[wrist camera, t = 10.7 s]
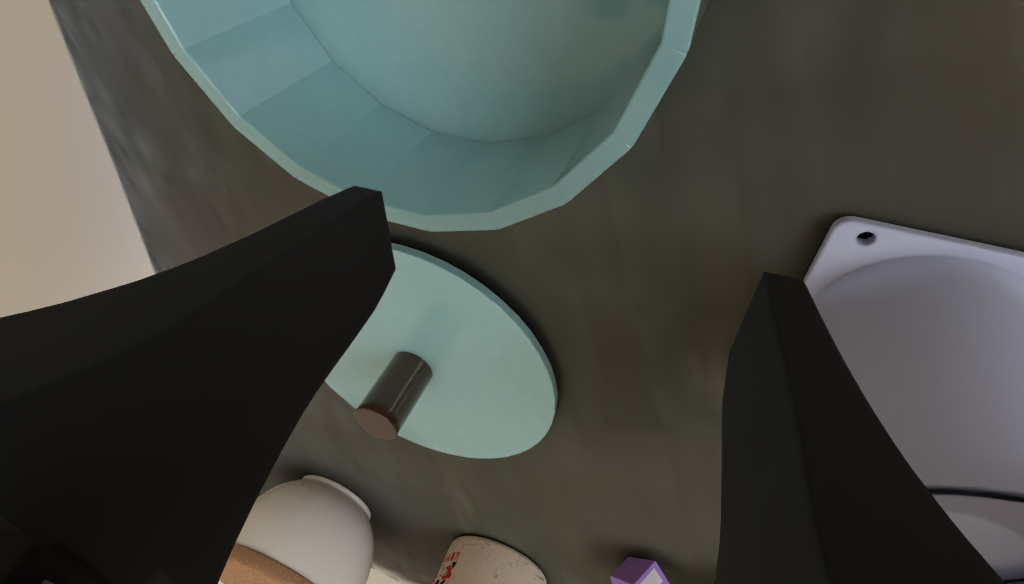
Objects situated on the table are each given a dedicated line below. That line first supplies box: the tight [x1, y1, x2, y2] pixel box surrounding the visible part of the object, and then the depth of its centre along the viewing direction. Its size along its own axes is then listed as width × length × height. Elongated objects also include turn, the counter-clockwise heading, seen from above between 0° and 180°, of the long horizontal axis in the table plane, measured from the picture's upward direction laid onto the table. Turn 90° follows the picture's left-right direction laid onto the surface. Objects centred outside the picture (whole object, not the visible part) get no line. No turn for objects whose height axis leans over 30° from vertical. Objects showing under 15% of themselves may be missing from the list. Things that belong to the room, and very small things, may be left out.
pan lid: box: [325, 243, 558, 459], centre depth 29 cm, size 16×16×5 cm
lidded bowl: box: [219, 475, 374, 584], centre depth 47 cm, size 13×13×11 cm
